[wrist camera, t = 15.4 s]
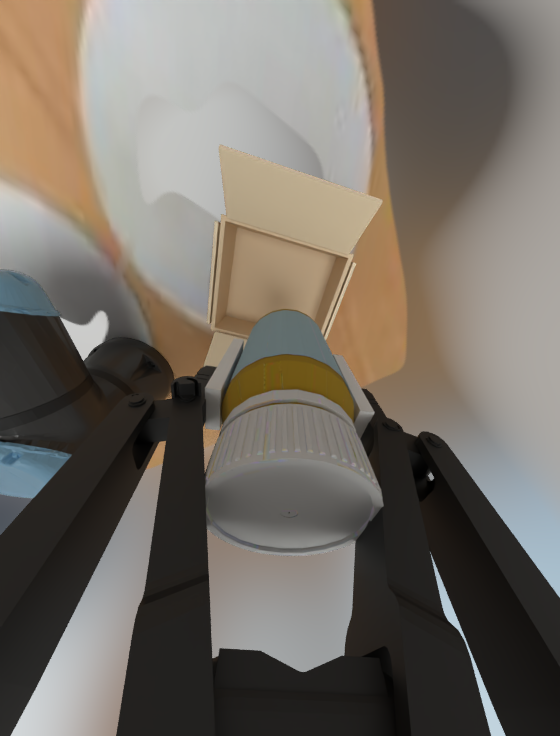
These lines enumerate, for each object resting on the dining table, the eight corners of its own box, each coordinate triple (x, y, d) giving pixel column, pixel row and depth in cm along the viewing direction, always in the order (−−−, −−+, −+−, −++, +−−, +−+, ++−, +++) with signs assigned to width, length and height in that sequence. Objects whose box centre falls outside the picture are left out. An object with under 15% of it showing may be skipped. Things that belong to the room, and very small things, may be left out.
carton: (219, 315, 36) (205, 328, 30) (230, 220, 29) (215, 212, 23) (314, 339, 37) (319, 356, 31) (344, 255, 31) (359, 256, 25)
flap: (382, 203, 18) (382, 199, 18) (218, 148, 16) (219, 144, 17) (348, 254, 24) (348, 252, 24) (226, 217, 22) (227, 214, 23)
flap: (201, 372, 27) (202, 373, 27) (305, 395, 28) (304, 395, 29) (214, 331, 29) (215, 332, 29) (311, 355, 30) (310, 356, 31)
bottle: (335, 325, 19) (451, 488, 6) (301, 383, 22) (327, 571, 9) (265, 293, 18) (214, 410, 5) (240, 359, 21) (166, 539, 8)
